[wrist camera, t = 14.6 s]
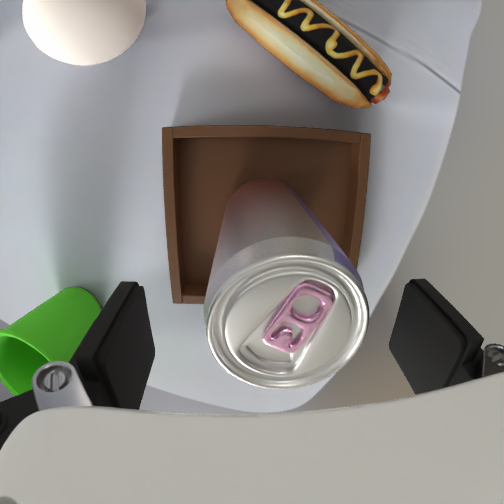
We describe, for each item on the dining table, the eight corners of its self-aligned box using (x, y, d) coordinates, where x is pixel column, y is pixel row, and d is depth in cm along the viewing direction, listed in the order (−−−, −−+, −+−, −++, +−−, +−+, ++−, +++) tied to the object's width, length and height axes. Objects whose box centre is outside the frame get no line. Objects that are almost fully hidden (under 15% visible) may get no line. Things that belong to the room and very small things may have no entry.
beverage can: (316, 200, 24) (407, 298, 10) (277, 263, 26) (310, 408, 12) (249, 162, 22) (256, 213, 9) (212, 230, 24) (174, 359, 10)
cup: (32, 288, 27) (-27, 347, 17) (84, 251, 25) (16, 315, 15) (81, 352, 30) (40, 423, 20) (138, 328, 28) (100, 411, 18)
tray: (178, 288, 27) (173, 303, 24) (170, 127, 22) (161, 127, 19) (342, 288, 27) (351, 303, 25) (358, 133, 22) (371, 133, 20)
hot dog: (343, 126, 22) (366, 125, 17) (212, 20, 19) (204, -5, 14) (380, 85, 21) (410, 78, 16) (254, -18, 17) (256, -48, 13)
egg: (123, 89, 20) (36, 68, 10) (65, 54, 19) (-27, 30, 8) (180, 16, 18) (134, -57, 7) (116, -14, 17) (50, -74, 6)
